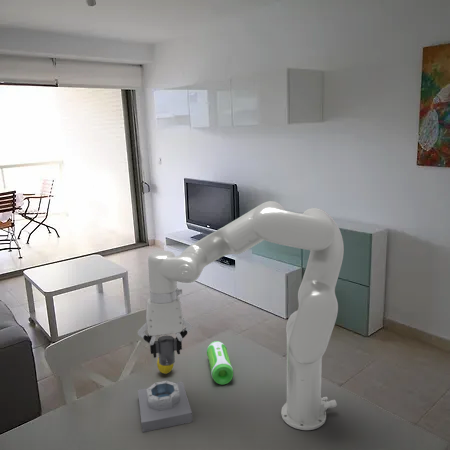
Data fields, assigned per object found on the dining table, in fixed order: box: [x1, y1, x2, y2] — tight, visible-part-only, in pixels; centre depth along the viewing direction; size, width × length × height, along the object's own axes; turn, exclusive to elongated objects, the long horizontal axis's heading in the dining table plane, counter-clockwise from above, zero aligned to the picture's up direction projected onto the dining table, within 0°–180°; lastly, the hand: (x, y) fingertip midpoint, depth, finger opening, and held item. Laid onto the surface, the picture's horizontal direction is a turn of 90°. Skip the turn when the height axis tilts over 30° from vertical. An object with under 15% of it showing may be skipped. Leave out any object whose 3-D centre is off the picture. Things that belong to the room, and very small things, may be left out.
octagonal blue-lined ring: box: [147, 380, 180, 411], centre depth 125 cm, size 9×9×4 cm
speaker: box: [206, 340, 234, 385], centre depth 145 cm, size 18×7×8 cm, turn 9°
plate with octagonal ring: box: [137, 381, 193, 433], centre depth 126 cm, size 14×16×3 cm
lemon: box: [156, 356, 175, 375], centre depth 144 cm, size 6×6×8 cm
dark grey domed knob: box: [155, 335, 177, 366], centre depth 122 cm, size 6×5×7 cm
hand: (166, 353), depth 123 cm, fingers closed on dark grey domed knob, 6 cm apart
